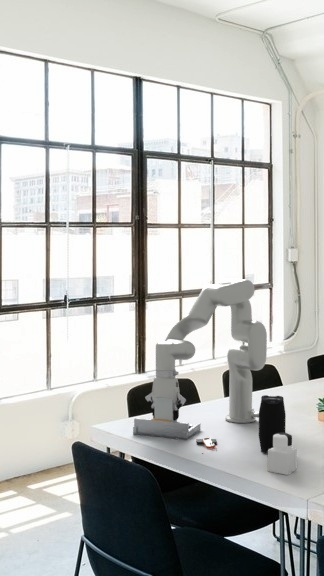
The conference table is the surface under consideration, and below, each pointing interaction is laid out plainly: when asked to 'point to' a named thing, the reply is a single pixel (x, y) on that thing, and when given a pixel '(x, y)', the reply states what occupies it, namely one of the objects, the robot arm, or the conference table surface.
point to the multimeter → (207, 442)
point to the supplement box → (163, 409)
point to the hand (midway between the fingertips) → (165, 418)
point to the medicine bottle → (282, 455)
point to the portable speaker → (270, 420)
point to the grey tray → (164, 428)
